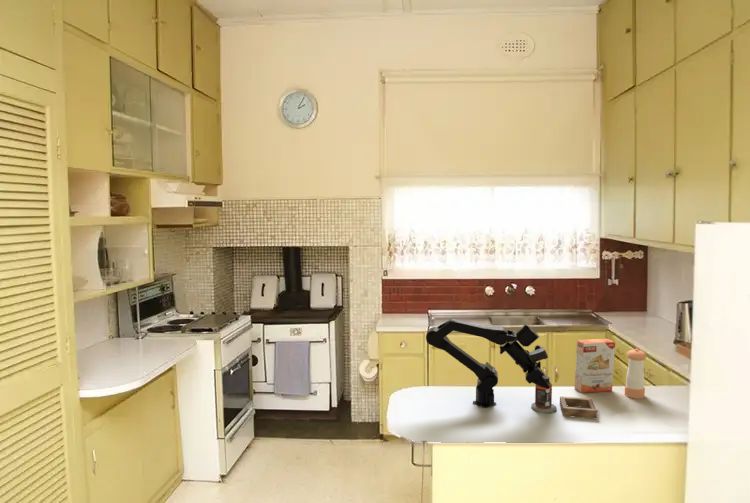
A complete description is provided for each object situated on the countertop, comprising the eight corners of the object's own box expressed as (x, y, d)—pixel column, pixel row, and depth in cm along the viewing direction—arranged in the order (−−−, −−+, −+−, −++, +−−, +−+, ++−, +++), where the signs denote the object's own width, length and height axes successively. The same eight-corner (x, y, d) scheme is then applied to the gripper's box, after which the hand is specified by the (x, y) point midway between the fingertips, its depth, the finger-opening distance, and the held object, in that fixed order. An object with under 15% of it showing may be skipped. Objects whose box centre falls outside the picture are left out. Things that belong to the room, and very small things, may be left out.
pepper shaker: (642, 392, 227) (644, 346, 225) (646, 399, 220) (649, 351, 218) (622, 391, 229) (625, 345, 226) (626, 397, 222) (628, 350, 219)
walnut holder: (562, 415, 204) (563, 408, 204) (559, 403, 216) (559, 396, 215) (596, 418, 202) (597, 410, 202) (591, 406, 213) (591, 398, 213)
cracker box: (581, 393, 226) (583, 343, 224) (573, 388, 232) (575, 339, 230) (613, 391, 228) (615, 341, 226) (604, 386, 234) (607, 337, 232)
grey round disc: (526, 407, 212) (526, 405, 212) (541, 402, 218) (541, 400, 217) (546, 415, 205) (546, 413, 205) (561, 409, 210) (561, 407, 210)
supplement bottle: (552, 409, 208) (553, 379, 207) (535, 408, 209) (536, 379, 208) (550, 403, 214) (551, 374, 213) (534, 402, 215) (535, 374, 214)
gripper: (536, 347, 200) (567, 379, 199) (533, 334, 218) (562, 363, 217) (513, 367, 203) (543, 399, 202) (512, 352, 221) (540, 381, 220)
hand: (548, 385), depth 210 cm, fingers open, 6 cm apart
